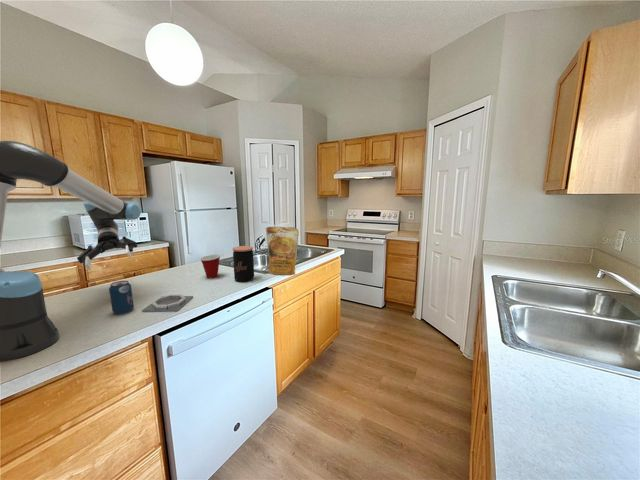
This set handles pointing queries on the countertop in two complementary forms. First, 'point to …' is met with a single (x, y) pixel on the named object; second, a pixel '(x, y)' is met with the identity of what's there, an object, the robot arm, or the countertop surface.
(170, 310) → the mount plate
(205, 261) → the plastic cup
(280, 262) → the pancake mix bag
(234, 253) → the coffee jar
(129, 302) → the soda can
